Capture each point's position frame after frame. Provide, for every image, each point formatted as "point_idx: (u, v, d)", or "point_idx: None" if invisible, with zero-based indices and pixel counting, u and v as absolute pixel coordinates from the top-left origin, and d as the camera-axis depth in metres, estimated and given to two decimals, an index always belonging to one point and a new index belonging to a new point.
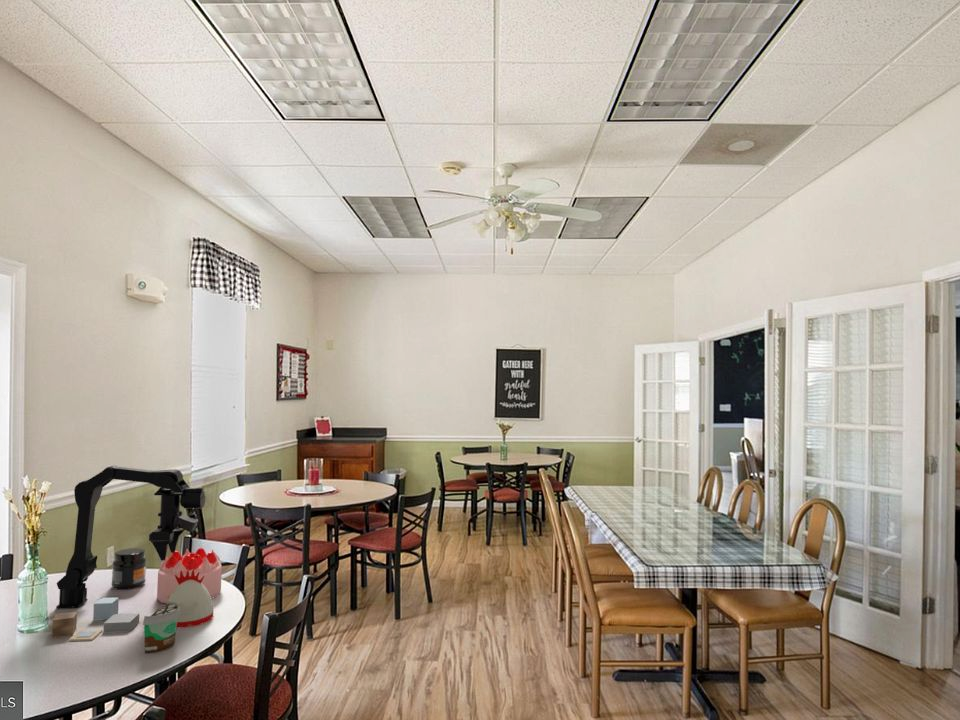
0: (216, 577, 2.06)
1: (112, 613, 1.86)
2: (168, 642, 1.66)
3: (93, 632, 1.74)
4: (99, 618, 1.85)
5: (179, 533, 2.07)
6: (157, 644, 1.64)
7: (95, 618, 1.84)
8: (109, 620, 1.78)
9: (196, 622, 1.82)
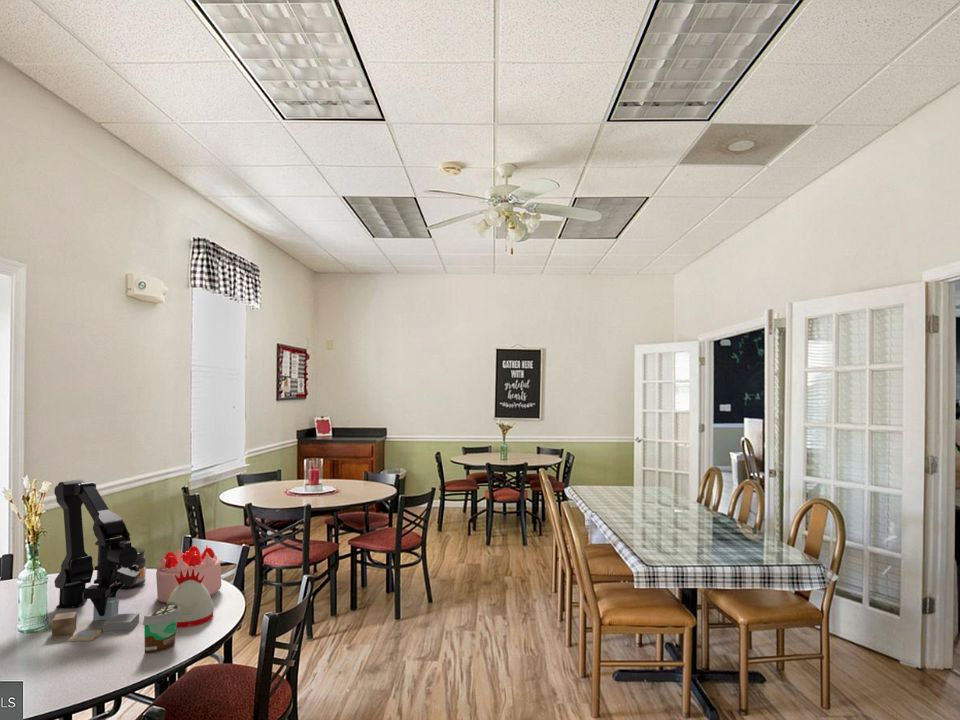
0: (218, 570, 2.08)
1: (112, 613, 1.86)
2: (168, 642, 1.66)
3: (93, 632, 1.74)
4: (99, 618, 1.85)
5: (117, 588, 1.91)
6: (157, 644, 1.64)
7: (95, 618, 1.84)
8: (109, 620, 1.78)
9: (196, 622, 1.82)
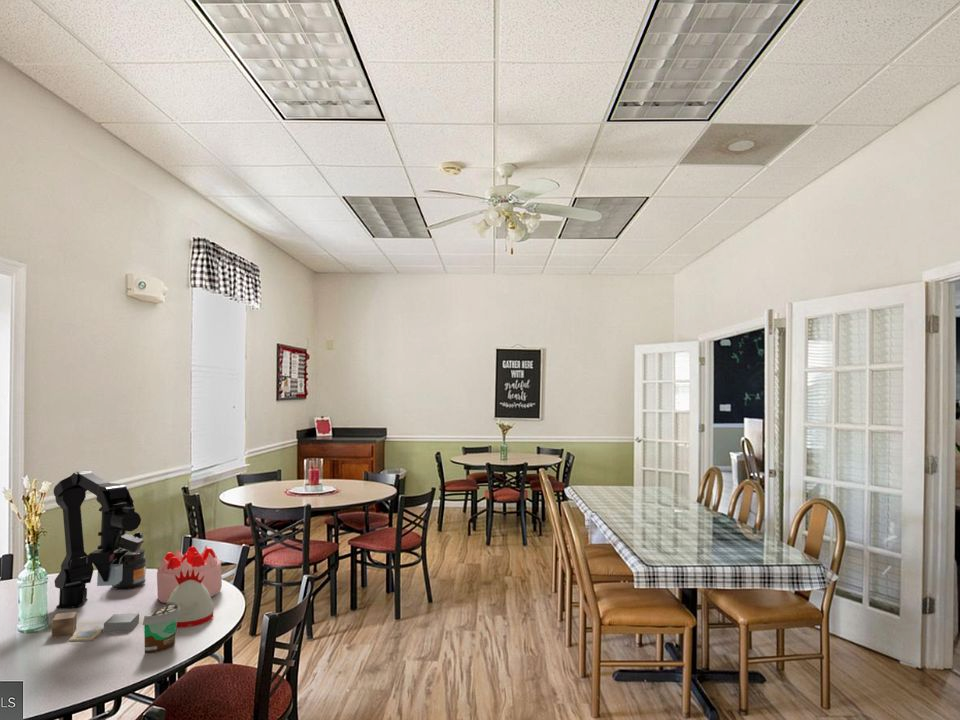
0: (220, 570, 2.09)
1: (116, 579, 1.85)
2: (168, 642, 1.66)
3: (93, 632, 1.74)
4: (103, 583, 1.84)
5: (121, 555, 1.90)
6: (157, 644, 1.64)
7: (99, 583, 1.84)
8: (109, 620, 1.78)
9: (196, 622, 1.82)
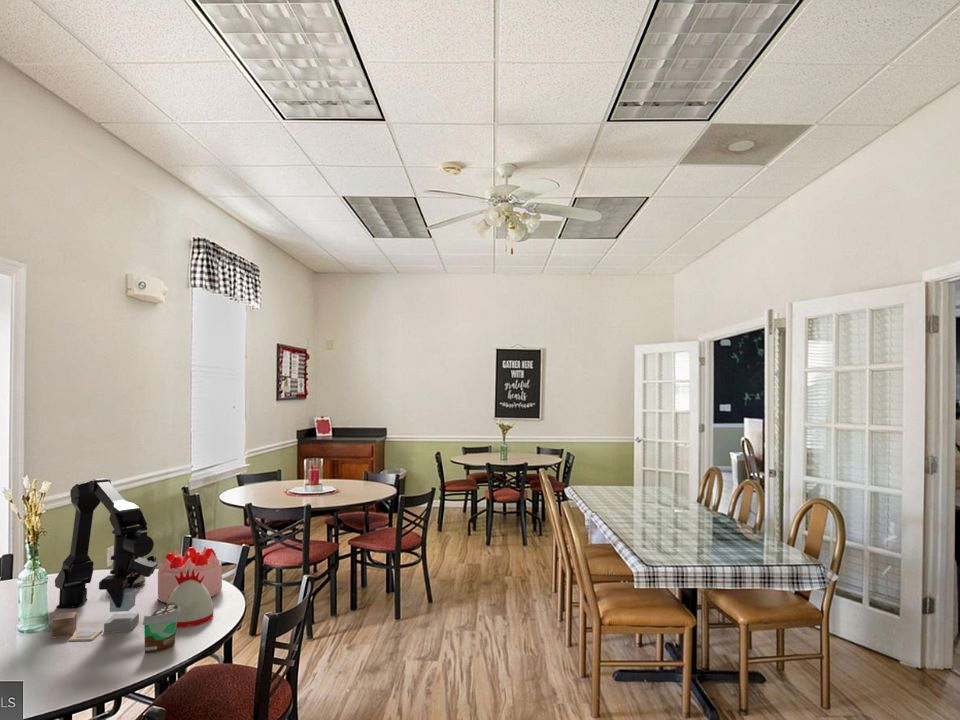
0: (221, 570, 2.10)
1: (129, 604, 1.79)
2: (168, 642, 1.66)
3: (93, 632, 1.74)
4: (116, 609, 1.77)
5: (134, 579, 1.84)
6: (157, 644, 1.64)
7: (112, 609, 1.77)
8: (109, 620, 1.78)
9: (196, 622, 1.82)
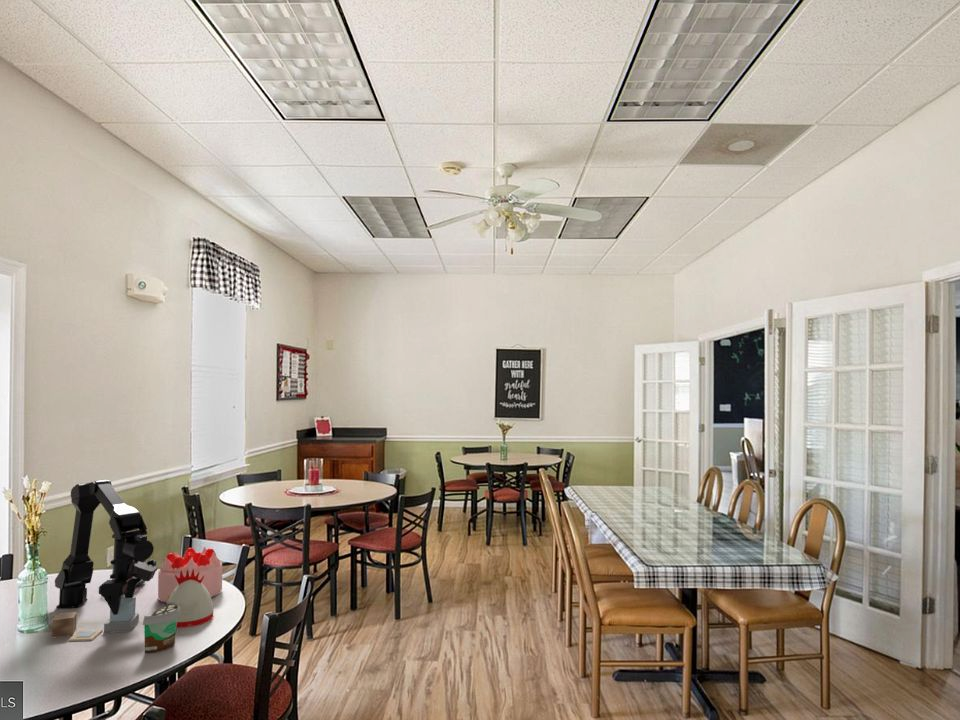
0: None
1: (129, 614, 1.78)
2: (168, 642, 1.66)
3: (93, 632, 1.74)
4: (116, 619, 1.77)
5: (136, 581, 1.85)
6: (157, 644, 1.64)
7: (112, 619, 1.77)
8: (109, 621, 1.77)
9: (197, 622, 1.82)
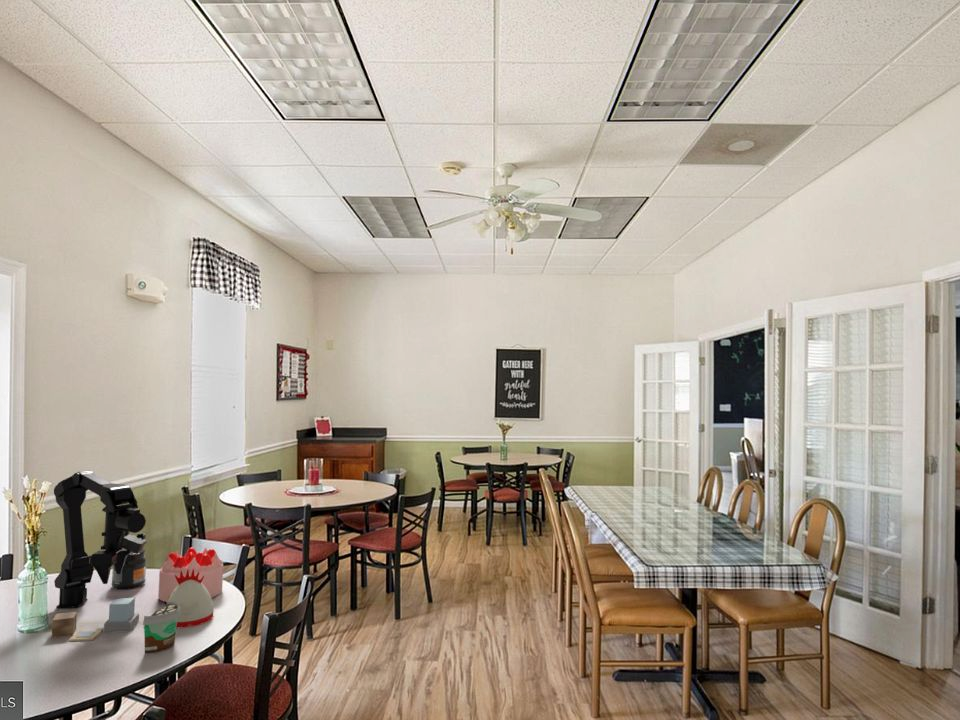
0: None
1: (128, 614, 1.78)
2: (168, 642, 1.66)
3: (93, 632, 1.74)
4: (115, 619, 1.77)
5: (126, 553, 1.93)
6: (157, 644, 1.64)
7: (111, 619, 1.77)
8: None
9: (197, 622, 1.82)
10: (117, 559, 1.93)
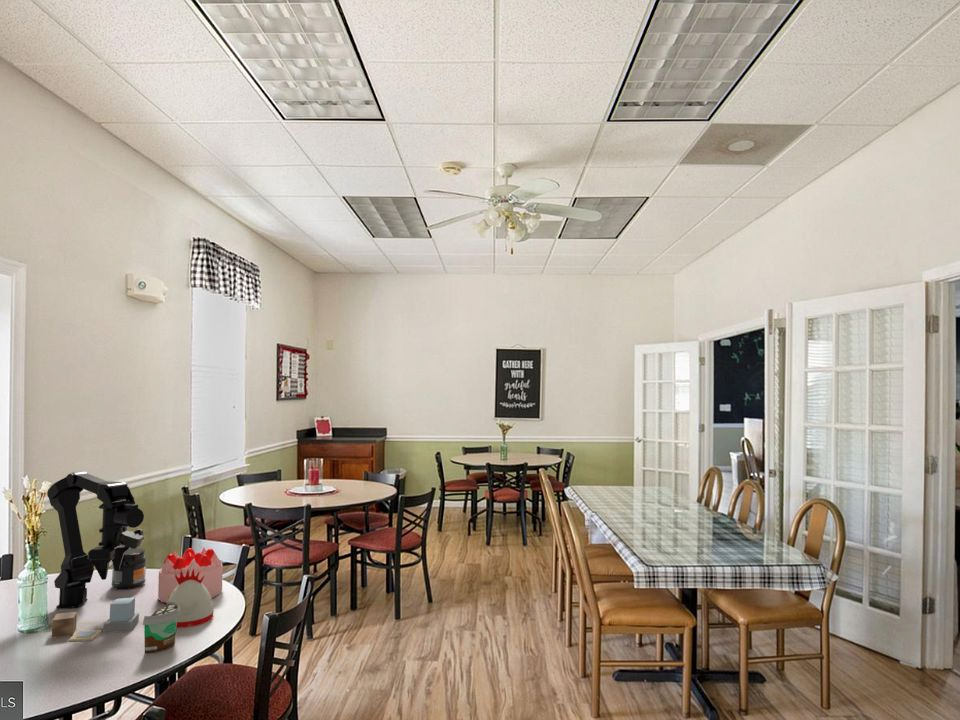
0: (222, 571, 2.12)
1: (129, 614, 1.79)
2: (168, 642, 1.66)
3: (93, 632, 1.74)
4: (116, 619, 1.77)
5: (124, 550, 1.95)
6: (157, 644, 1.64)
7: (111, 619, 1.77)
8: None
9: (197, 622, 1.82)
10: (115, 556, 1.94)
